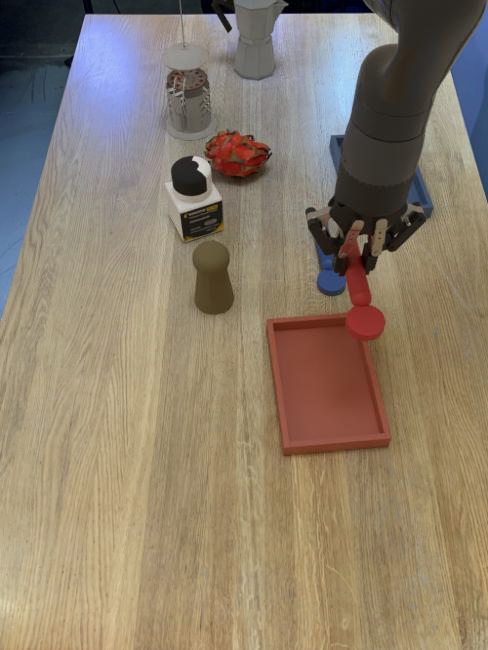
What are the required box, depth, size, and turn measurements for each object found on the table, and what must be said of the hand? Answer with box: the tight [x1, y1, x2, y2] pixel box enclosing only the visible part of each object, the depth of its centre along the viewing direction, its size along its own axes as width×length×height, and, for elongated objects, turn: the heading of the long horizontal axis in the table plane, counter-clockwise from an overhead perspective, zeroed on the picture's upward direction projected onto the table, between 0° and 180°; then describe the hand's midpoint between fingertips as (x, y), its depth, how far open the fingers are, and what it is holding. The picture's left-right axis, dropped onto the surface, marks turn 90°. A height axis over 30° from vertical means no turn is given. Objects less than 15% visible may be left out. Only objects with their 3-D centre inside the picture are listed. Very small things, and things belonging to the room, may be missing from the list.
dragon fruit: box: [202, 127, 273, 182], centre depth 104 cm, size 8×8×12 cm
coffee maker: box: [211, 0, 289, 81], centre depth 117 cm, size 15×9×18 cm, turn 77°
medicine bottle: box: [164, 155, 225, 243], centre depth 95 cm, size 7×7×12 cm
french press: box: [161, 0, 218, 141], centre depth 103 cm, size 10×12×25 cm
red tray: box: [265, 312, 393, 456], centre depth 81 cm, size 14×20×2 cm
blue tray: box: [328, 133, 435, 219], centre depth 104 cm, size 14×20×2 cm
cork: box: [191, 239, 235, 316], centre depth 86 cm, size 6×6×11 cm
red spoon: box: [335, 230, 386, 342], centre depth 71 cm, size 16×4×2 cm, turn 5°
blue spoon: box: [314, 209, 347, 296], centre depth 94 cm, size 16×4×2 cm, turn 5°
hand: (352, 270), depth 73 cm, fingers closed on red spoon, 2 cm apart
